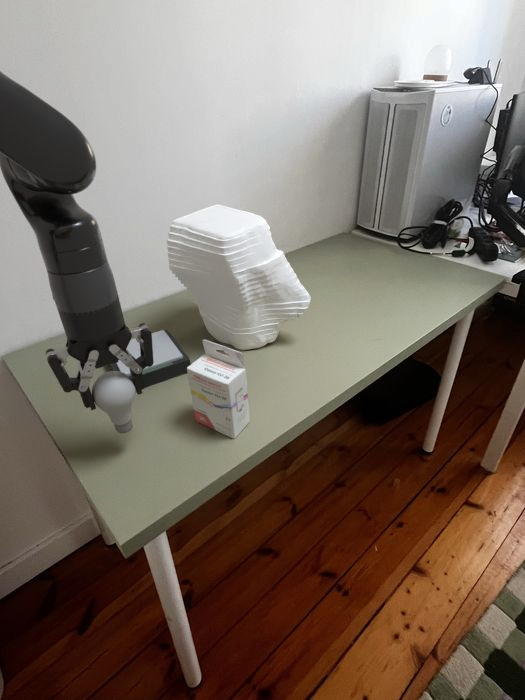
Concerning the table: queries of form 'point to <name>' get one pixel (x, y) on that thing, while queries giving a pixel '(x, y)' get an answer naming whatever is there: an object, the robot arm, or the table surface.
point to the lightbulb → (115, 398)
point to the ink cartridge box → (220, 390)
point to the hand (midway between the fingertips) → (116, 398)
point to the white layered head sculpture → (235, 275)
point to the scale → (158, 359)
